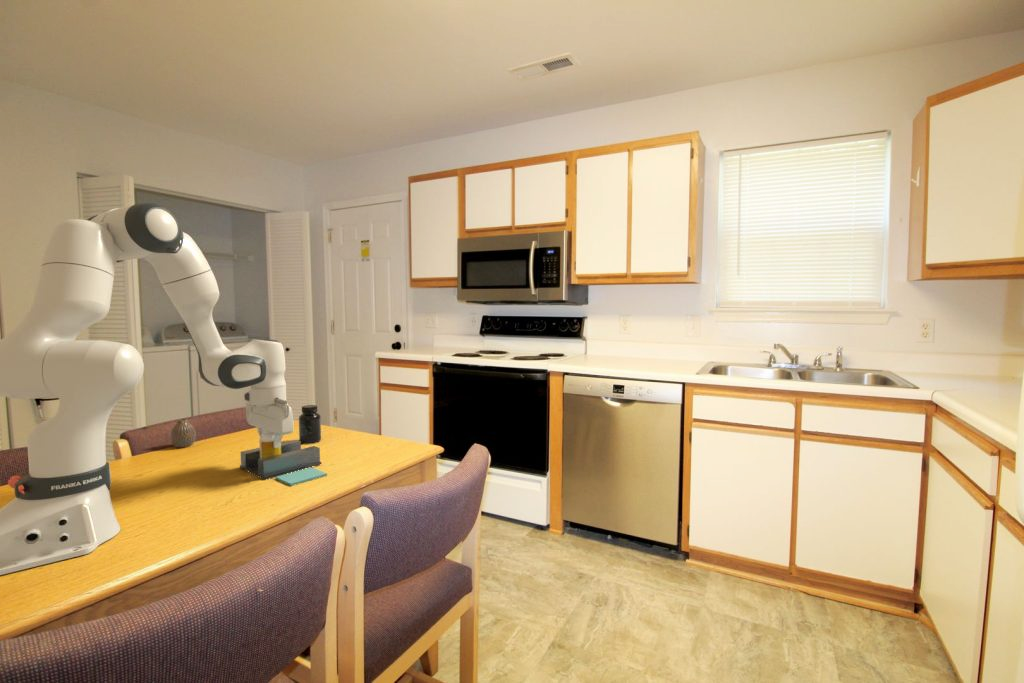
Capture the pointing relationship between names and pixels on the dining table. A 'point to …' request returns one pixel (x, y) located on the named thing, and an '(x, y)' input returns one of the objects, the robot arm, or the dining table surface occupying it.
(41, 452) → the robot arm
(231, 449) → the dining table surface
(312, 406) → the supplement bottle
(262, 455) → the supplement bottle
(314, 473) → the teal mat
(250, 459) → the slot housing
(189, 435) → the vase
